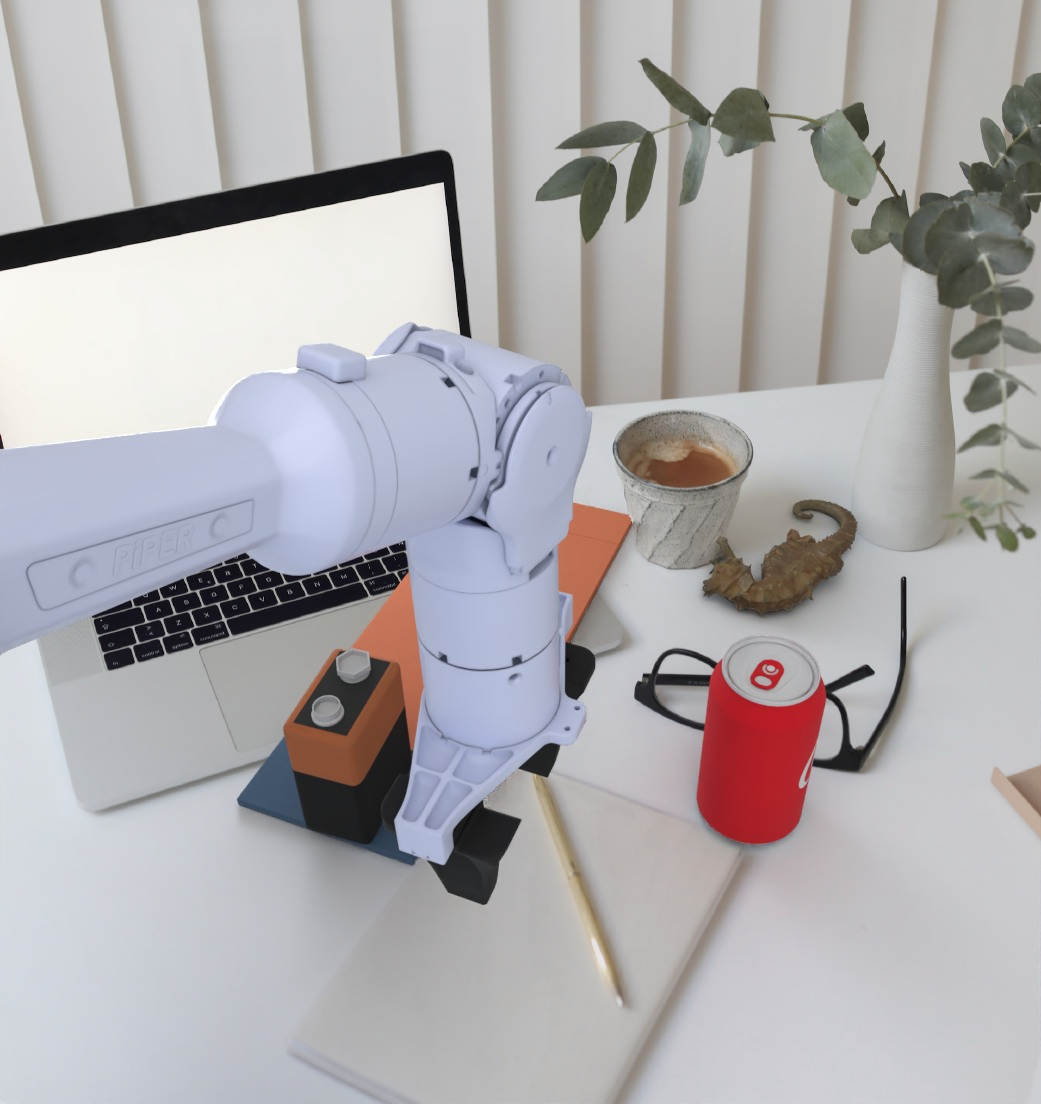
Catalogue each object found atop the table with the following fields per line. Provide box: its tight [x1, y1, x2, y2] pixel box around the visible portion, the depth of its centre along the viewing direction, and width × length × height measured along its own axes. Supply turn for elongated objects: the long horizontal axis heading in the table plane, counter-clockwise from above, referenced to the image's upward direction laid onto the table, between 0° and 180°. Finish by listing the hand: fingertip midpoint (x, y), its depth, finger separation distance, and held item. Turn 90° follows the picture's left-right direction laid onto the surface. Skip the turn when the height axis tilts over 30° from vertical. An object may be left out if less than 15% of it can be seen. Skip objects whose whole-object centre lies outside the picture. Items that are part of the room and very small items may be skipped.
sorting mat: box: [236, 502, 633, 866], centre depth 76 cm, size 36×14×1 cm, turn 158°
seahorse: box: [702, 499, 859, 618], centre depth 81 cm, size 9×16×3 cm, turn 126°
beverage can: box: [696, 634, 827, 845], centre depth 61 cm, size 6×6×12 cm
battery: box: [282, 647, 412, 845], centre depth 62 cm, size 4×7×10 cm, turn 161°
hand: (501, 826), depth 51 cm, fingers open, 7 cm apart
